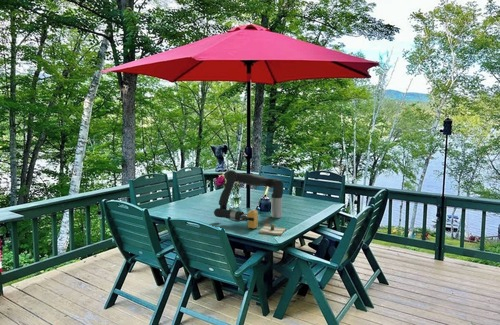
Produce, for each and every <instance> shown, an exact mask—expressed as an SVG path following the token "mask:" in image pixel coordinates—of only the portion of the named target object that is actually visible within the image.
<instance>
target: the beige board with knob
mask: <svg viewBox="0 0 500 325" xmlns="http://www.w3.org/2000/svg"><path fill="white" fill-rule="evenodd" d="M270 225H271V226H268V225H267V226H266V225H264V226H262V228H260V229H259V230H258V234H261V233H262V234H261V235H264V234H265V235H270V236H279V237H280V236H281V237H282V236H283V235H284V233H285V232H286V231H287V228H285V227H277V226H275V224H273V223H271V224H270Z"/></svg>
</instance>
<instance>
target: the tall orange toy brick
mask: <svg viewBox="0 0 500 325" xmlns="http://www.w3.org/2000/svg"><path fill="white" fill-rule="evenodd" d="M247 214H248V217H249V218H254V221H250V220H249V221H248V220H247V228H249V229H256V228H258V227H259V220H258V219H259V212H258V211H256V210H255V209H250V210H249V211H248V212H247Z"/></svg>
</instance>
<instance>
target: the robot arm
mask: <svg viewBox="0 0 500 325" xmlns="http://www.w3.org/2000/svg"><path fill="white" fill-rule="evenodd" d="M223 176H224V179H225V185H224V187H223V190H222V192H221V194H220V197H219V201H218V205H219V208H218V207H217V208H215V209H214V211H213V215H214V216H215V217H216V218H222V219H223V218H225V219H227V220H228V219H229V220H232V221H238V222H248V221H249V220H250V221H254V218H249V217H248V213H245V212H244V211H243V210H242V211H240V210H237V211H233V210H229V209H228V203H229V198H230V196H231V192H232V189H233V186H234V185H235V182H237V183H243V184H244V185H250V186H255V187H268V188H271V189H272V191H273V192H272V193H271V203H270V204H271V206H270V207H271V210H270V212H271V213H270V214H271V218H275V219H280V218H282V216H283V194H284V182H283V181H282V180H281V179H279V178H274V177H273V178H271V177H265V176H262V175H258V174H253V173H241V172H237V171H235V170H233V169H229V170H226V172H224V175H223Z"/></svg>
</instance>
